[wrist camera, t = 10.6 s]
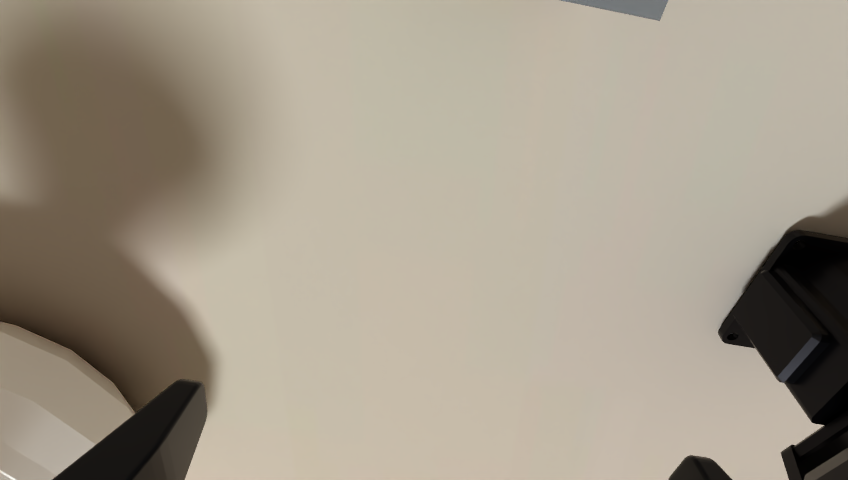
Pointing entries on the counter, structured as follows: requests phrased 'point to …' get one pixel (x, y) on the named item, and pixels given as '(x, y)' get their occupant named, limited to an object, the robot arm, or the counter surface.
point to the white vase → (50, 406)
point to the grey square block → (628, 6)
